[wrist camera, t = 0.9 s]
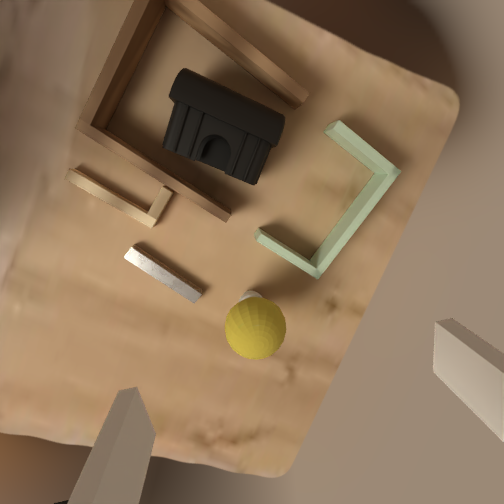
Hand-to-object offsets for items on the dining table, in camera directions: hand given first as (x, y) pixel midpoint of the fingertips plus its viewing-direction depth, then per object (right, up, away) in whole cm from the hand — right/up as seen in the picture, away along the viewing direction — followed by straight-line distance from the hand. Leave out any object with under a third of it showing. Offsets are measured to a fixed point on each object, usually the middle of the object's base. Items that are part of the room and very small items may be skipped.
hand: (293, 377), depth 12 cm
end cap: (-5, +18, +18) cm, 26 cm away
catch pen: (+6, +11, +21) cm, 25 cm away
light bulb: (-2, -1, +25) cm, 25 cm away
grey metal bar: (-13, +3, +23) cm, 26 cm away
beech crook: (-16, +13, +19) cm, 28 cm away
